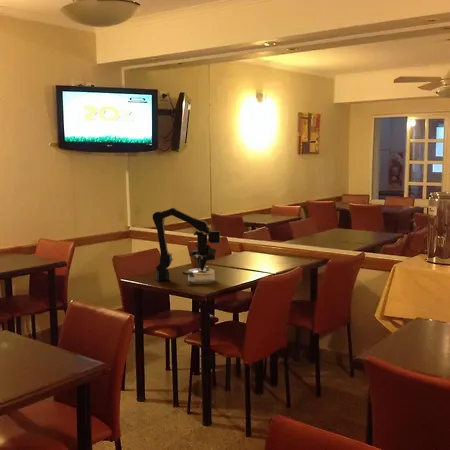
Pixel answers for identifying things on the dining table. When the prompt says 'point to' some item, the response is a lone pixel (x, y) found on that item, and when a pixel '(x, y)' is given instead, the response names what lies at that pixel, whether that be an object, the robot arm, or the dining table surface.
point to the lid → (199, 271)
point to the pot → (201, 279)
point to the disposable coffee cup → (194, 262)
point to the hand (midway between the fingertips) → (202, 270)
